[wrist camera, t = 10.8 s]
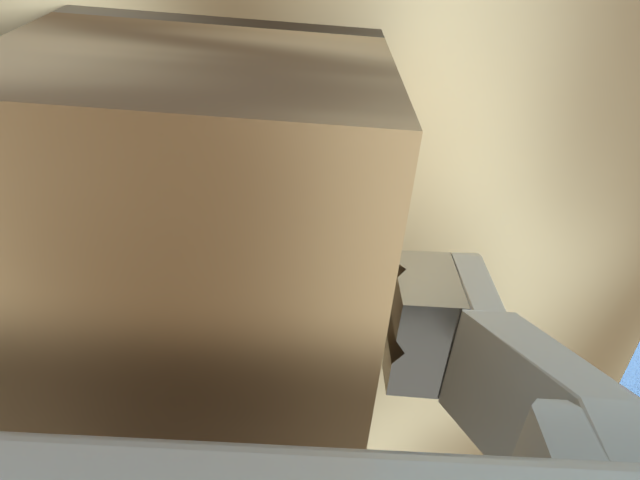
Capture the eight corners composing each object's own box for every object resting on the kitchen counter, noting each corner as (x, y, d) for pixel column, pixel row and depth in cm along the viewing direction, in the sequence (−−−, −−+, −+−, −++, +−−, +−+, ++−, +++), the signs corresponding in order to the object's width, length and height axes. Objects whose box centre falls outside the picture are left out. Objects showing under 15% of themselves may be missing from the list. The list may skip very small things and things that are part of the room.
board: (-38, 530, 19) (-59, 568, 18) (-322, -121, 9) (-403, -122, 8) (507, 555, 19) (517, 592, 18) (762, -30, 10) (815, -20, 9)
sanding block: (121, 372, 13) (40, 570, 9) (66, 4, 9) (-119, 92, 5) (337, 384, 13) (342, 582, 10) (381, 29, 9) (423, 131, 5)
